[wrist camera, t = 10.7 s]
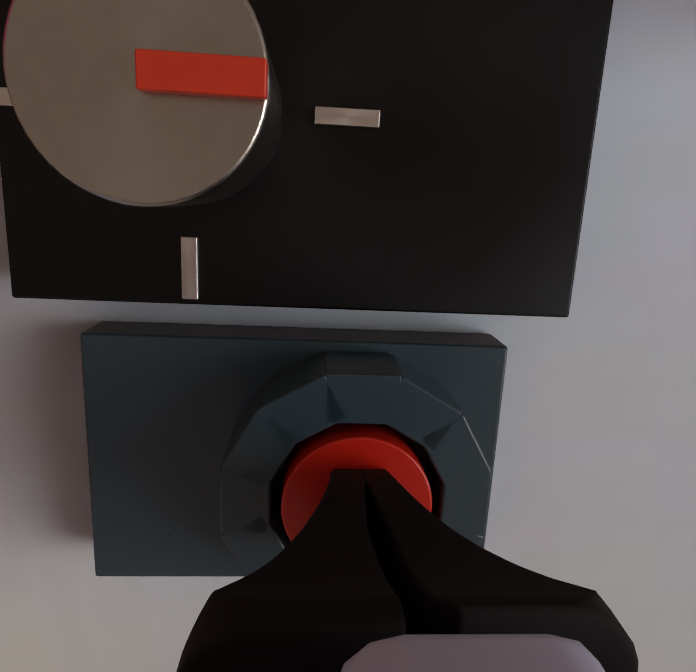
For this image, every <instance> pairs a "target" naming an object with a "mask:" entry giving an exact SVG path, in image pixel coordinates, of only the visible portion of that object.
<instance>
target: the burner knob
mask: <svg viewBox="0 0 696 672" xmlns="http://www.w3.org/2000/svg"><path fill="white" fill-rule="evenodd" d="M3 67H4V74H5V81H6V85H7V89H8V93H9V96H10V100H11V103H12V105H13V108H14V110H15V113H16V115H17V118H18V120H19V122H20V123H21V125H22V127H23V129H24V131H25V133H26V134H27V136H28V138H29V139H30V140H31V142H32V143H33V145H34V146H35V148H36V149H37V150H38V152H39V153H40V154H41V155H42V156H43V157H44V158H45V159H46V161H47V162H48V163H49V164H50V165H51V166H52V167H53V168H54V169H56V170H57V171H58V172H59V173H60V174H61V175H62V176H64V177H65V178H66V179H68V180H69V181H71V182H72V183H73V184H75V185H76V186H78V187H79V188H81V189H83V190H85V191H87V192H89V193H91V194H92V195H94V196H97V197H100V198H102V199H105V200H107V201H110V202H114V203H118V204H122V205H126V206H133V207H141V208H160V207H173V206H187V205H200V204H207V203H213V202H216V201H219V200H223V199H225V198H228V197H230V196H232V195H234V194H236V193H237V192H239V191H241V190H242V189H244V188H245V187H246V186H248V185H249V184H250V183H251V182H252V181H254V179H255V178H256V177H257V176H258V175H259V174H260V173H261V172H262V170H263V169H264V167H265V166H266V165H267V163H268V162H269V160H270V158H271V156H272V154H273V152H274V149H275V147H276V144H277V141H278V138H279V133H280V129H281V120H282V100H281V94H280V88H279V84H278V81H277V77H276V74H275V70H274V67H273V63H272V60H271V57H270V53H269V50H268V46H267V43H266V40H265V36H264V33H263V29H262V27H261V24H260V22H259V20H258V17H257V15H256V12H255V10H254V8H253V7H252V5H251V3H250V1H249V0H12V3H11V5H10V8H9V11H8V15H7V19H6V23H5V28H4V37H3Z"/></svg>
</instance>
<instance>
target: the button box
mask: <svg viewBox="0 0 696 672" xmlns="http://www.w3.org/2000/svg"><path fill="white" fill-rule="evenodd" d="M81 352H82V368H83V383H84V399H85V415H86V430H87V446H88V462H89V477H90V493H91V509H92V524H93V540H94V556H95V571H96V576H247V575H249V574H251V573H253V572H254V571H256V570H257V569H259V568H261V567H262V566H264V565H265V564H267V563H268V562H269V561H271V560H272V559H273V558H274V557H276V556H277V555H278V554H279V553H280V552H281V551H282V550H283V549H284V548H285V547H286V546H287V545H288V544H289V543H290V542H291V541H290V539H289V537H288V535H287V533H286V531H285V528H284V525H283V521H282V516H281V500H282V490H283V479H284V469H285V460H286V458H287V456H288V455H289V453H290V452H291V450H292V448H293V447H294V445H295V444H297V443H299V442H300V441H302V440H304V439H306V438H308V437H310V436H312V435H314V434H316V433H318V432H320V431H322V430H324V429H326V428H328V427H330V426H332V425H334V424H336V423H357V424H386V425H388V426H389V427H391V428H393V429H394V430H396V431H398V432H400V433H401V434H403V435H405V436H406V437H408V438H410V439H411V440H412V443H413V445H414V447H415V450H416V452H417V454H418V457H419V459H420V462H421V464H422V467H423V469H424V472H425V474H426V476H427V479H428V481H429V485H430V488H431V494H432V510H431V513H432V514H433V515H435V516H436V517H437V518H439V519H440V520H441V521H442V522H444V523H445V524H446V525H447V526H449V527H450V528H452V529H453V530H454V531H456V532H457V533H459V534H460V535H462V536H464V537H465V538H467V539H468V540H470V541H471V542H473V543H475V544H476V545H478V546H480V547H482V548H483V549H484V543H485V535H486V526H487V518H488V509H489V501H490V492H491V484H492V475H493V467H494V459H495V450H496V442H497V433H498V425H499V416H500V408H501V399H502V391H503V382H504V374H505V365H506V357H507V347H506V346H505V345H504V344H502V343H501V342H500V341H498V340H497V339H496V338H495V337H493V336H492V335H490V334H470V333H440V332H410V331H379V330H349V329H319V328H289V327H258V326H228V325H198V324H168V323H138V322H107V321H102V322H100V323H98V324H96V325H95V326H93V327H91V328H90V329H88V330H86V331H85V332H83V333H81Z"/></svg>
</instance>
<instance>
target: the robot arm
mask: <svg viewBox="0 0 696 672" xmlns="http://www.w3.org/2000/svg"><path fill="white" fill-rule="evenodd" d="M177 672H638V658H637V654H636V651H635V647H634V644H633V642H632V640H631V639H630V637H629V636H628V635H627V633H626V632H625V630H624V629H623V627H622V626H621V624H620V623H619V621H618V620H617V618H616V617H615V615H614V614H613V613H612V611H611V610H610V609H609V607H608V606H607V605H606V603H605V602H604V601H603V600H602V598H601V597H600V596H599V595H598V594H597V592H596V591H594V590H591V589H587V588H584V587H580V586H577V585H573V584H570V583H566V582H563V581H559V580H556V579H552V578H549V577H547V576H544V575H541V574H539V573H536V572H533V571H531V570H528V569H525V568H523V567H521V566H518V565H516V564H514V563H511V562H509V561H507V560H505V559H503V558H501V557H499V556H497V555H495V554H493V553H491V552H489V551H487V550H485V549H483V548H482V547H480V546H478V545H476V544H475V543H473V542H471V541H470V540H468V539H467V538H465V537H464V536H462V535H460V534H459V533H457V532H456V531H454V530H453V529H452V528H450V527H449V526H447V525H446V524H445V523H444V522H442V521H441V520H440V519H439V518H437V517H436V516H435V515H433V514H432V513H431V512H430V511H429V510H428V509H426V508H425V507H424V506H423V505H422V504H421V503H420V502H419V501H417V500H416V499H415V498H414V497H413V496H412V495H411V494H410V493H409V492H408V491H407V490H406V489H405V488H404V487H403V486H402V485H401V484H400V483H399V482H398V481H397V480H396V479H395V478H394V477H393V476H392V475H391V474H390V473H389V472H388V471H387V470H386V469H334V470H333V471H332V472H331V473H330V480H329V483H328V486H327V488H326V491H325V493H324V495H323V497H322V499H321V501H320V502H319V504H318V506H317V508H316V510H315V511H314V513H313V514H312V515H311V517H310V518H309V520H308V521H307V523H306V524H305V526H304V527H303V528H302V530H301V531H300V532H299V533H298V534H297V536H296V537H295V538H294V539H293V540H292V541H291V542H290V543H289V544H288V545H287V546H286V547H285V548H284V549H283V550H282V551H281V552H280V553H279V554H278V555H277V556H276V557H274V558H273V559H272V560H271V561H269V562H268V563H267V564H265V565H264V566H262V567H261V568H259V569H257V570H256V571H254V572H253V573H251V574H249V575H247V576H246V577H244V578H242V579H240V580H238V581H235V582H233V583H231V584H229V585H227V586H225V587H222V588H220V589H218V590H215V591H214V592H213V593H212V594H211V595H210V597H209V599H208V600H207V602H206V604H205V605H204V607H203V609H202V611H201V613H200V614H199V616H198V618H197V620H196V622H195V624H194V626H193V628H192V631H191V633H190V635H189V637H188V640H187V642H186V644H185V647H184V649H183V652H182V655H181V658H180V661H179V665H178V668H177Z"/></svg>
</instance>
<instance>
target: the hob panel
mask: <svg viewBox="0 0 696 672" xmlns="http://www.w3.org/2000/svg"><path fill="white" fill-rule="evenodd" d="M249 1H250V3H251V5H252V7H253V8H254V10H255V12H256V15H257V17H258V20H259V22H260V24H261V27H262V29H263V33H264V36H265V40H266V43H267V46H268V50H269V53H270V57H271V60H272V63H273V67H274V70H275V74H276V77H277V81H278V84H279V88H280V94H281V100H282V120H281V129H280V133H279V138H278V141H277V144H276V147H275V149H274V152H273V154H272V156H271V158H270V160H269V162H268V163H267V165H266V166H265V167H264V169H263V170H262V172H261V173H260V174H259V175H258V176H257V177H256V178H255V179H254V181H252V182H251V183H250V184H249V185H248V186H246V187H245V188H244V189H242V190H241V191H239V192H237V193H236V194H234V195H232V196H230V197H228V198H225V199H223V200H219V201H216V202H213V203H207V204H200V205H187V206H173V207H160V208H141V207H133V206H126V205H122V204H118V203H114V202H110V201H107V200H105V199H102V198H100V197H97V196H94V195H92V194H91V193H89V192H87V191H85V190H83V189H81V188H79V187H78V186H76V185H75V184H73V183H72V182H71V181H69V180H68V179H66V178H65V177H64V176H62V175H61V174H60V173H59V172H58V171H57V170H56V169H54V168H53V167H52V166H51V165H50V164H49V163H48V162H47V161H46V159H45V158H44V157H43V156H42V155H41V154H40V153H39V152H38V150H37V149H36V148H35V146H34V145H33V143H32V142H31V140H30V139H29V138H28V136H27V134H26V133H25V131H24V129H23V127H22V125H21V123H20V122H19V120H18V118H17V115H16V113H15V110H14V108H13V105H12V103H11V100H10V96H9V93H8V89H7V85H6V81H5V74H4V67H3V37H4V28H5V23H6V19H7V15H8V11H9V8H10V5H11V3H12V0H0V166H1V177H2V188H3V199H4V210H5V221H6V232H7V243H8V253H9V264H10V275H11V286H12V296H13V297H15V298H39V299H67V300H95V301H123V302H151V303H179V304H207V305H235V306H263V307H291V308H319V309H347V310H376V311H404V312H432V313H460V314H488V315H516V316H544V317H568V315H569V308H570V301H571V294H572V287H573V280H574V273H575V266H576V259H577V252H578V245H579V238H580V231H581V224H582V217H583V210H584V203H585V196H586V189H587V182H588V175H589V168H590V161H591V154H592V147H593V139H594V132H595V125H596V118H597V111H598V104H599V97H600V90H601V83H602V76H603V69H604V62H605V55H606V48H607V41H608V34H609V27H610V20H611V13H612V6H613V0H249Z"/></svg>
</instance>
